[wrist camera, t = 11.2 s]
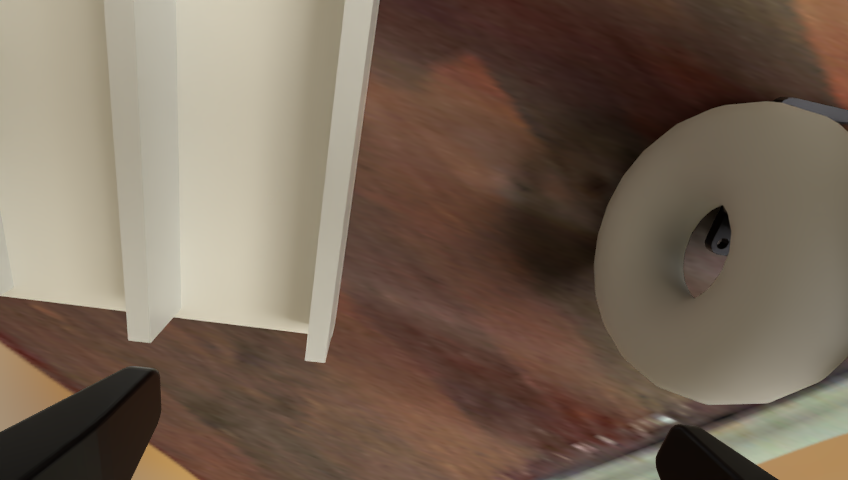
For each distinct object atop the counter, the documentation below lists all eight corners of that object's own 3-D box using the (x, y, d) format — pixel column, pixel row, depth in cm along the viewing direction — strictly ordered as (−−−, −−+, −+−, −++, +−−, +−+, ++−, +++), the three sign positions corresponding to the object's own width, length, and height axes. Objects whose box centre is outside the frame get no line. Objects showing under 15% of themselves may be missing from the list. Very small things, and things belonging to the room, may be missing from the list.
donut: (618, 307, 21) (792, 493, 12) (554, 294, 21) (685, 479, 11) (714, 103, 18) (1070, 142, 8) (641, 82, 17) (932, 100, 8)
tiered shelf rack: (393, -98, 14) (392, -146, 11) (334, 324, 20) (323, 372, 17) (-76, -221, 12) (-241, -322, 9) (14, 284, 19) (-66, 329, 15)
